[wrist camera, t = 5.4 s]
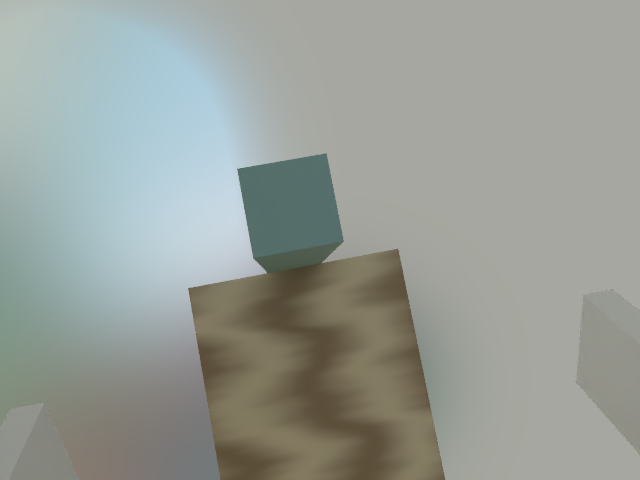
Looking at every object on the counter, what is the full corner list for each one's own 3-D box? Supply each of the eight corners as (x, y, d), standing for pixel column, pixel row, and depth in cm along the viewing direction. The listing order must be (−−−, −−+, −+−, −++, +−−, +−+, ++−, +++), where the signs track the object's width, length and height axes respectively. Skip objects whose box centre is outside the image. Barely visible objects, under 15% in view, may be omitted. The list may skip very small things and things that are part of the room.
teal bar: (238, 260, 18) (217, 142, 18) (270, 281, 48) (261, 236, 48) (358, 238, 18) (335, 122, 18) (315, 273, 48) (306, 228, 48)
